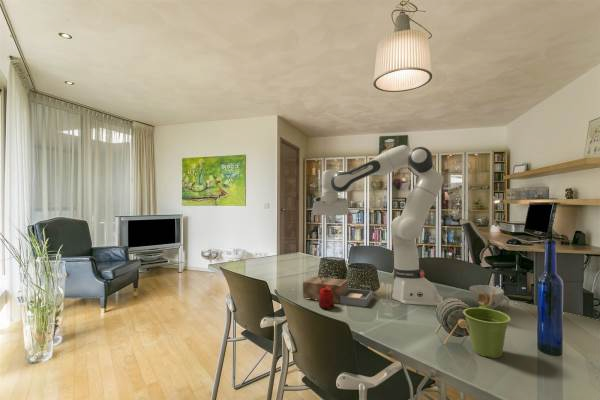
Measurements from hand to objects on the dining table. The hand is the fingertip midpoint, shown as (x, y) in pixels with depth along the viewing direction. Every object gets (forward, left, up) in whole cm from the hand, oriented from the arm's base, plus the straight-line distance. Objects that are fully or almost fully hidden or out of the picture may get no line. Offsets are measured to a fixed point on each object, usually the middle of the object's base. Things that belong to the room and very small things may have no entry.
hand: (330, 223), depth 164 cm
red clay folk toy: (-9, +32, -35) cm, 48 cm away
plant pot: (-67, +51, -35) cm, 91 cm away
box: (-19, +18, -35) cm, 44 cm away
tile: (-18, +19, -33) cm, 42 cm away
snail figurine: (-70, +23, -35) cm, 82 cm away
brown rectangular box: (-3, +18, -35) cm, 40 cm away
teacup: (-73, +7, -35) cm, 81 cm away
